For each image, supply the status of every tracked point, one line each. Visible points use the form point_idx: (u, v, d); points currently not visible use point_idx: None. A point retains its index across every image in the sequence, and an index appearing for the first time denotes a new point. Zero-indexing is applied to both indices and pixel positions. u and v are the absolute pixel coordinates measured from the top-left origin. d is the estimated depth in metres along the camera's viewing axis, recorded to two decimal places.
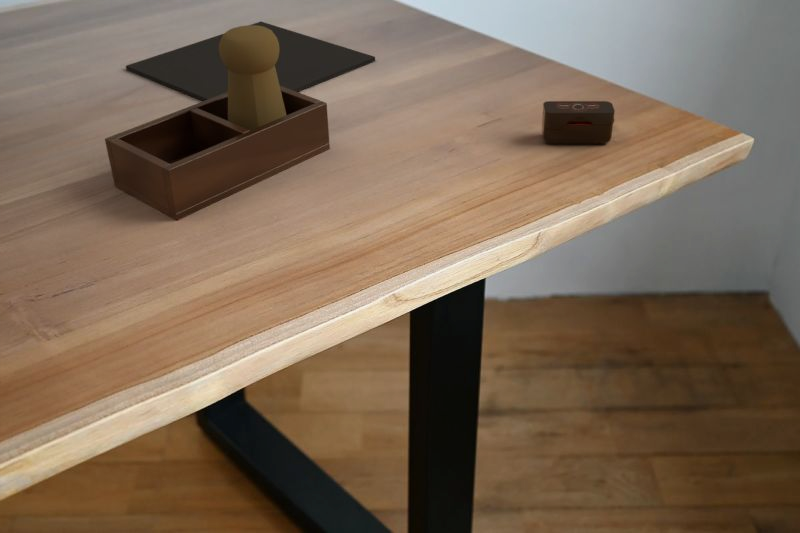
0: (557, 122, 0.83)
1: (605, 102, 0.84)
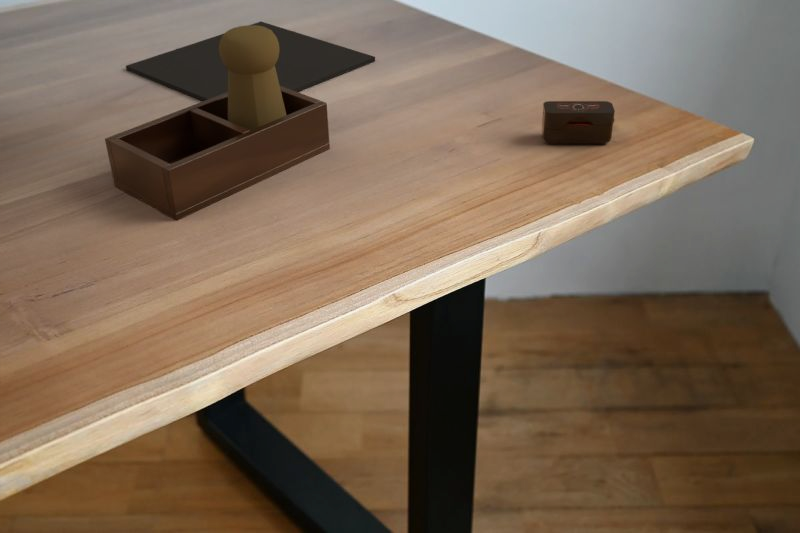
0: (557, 122, 0.83)
1: (605, 102, 0.84)
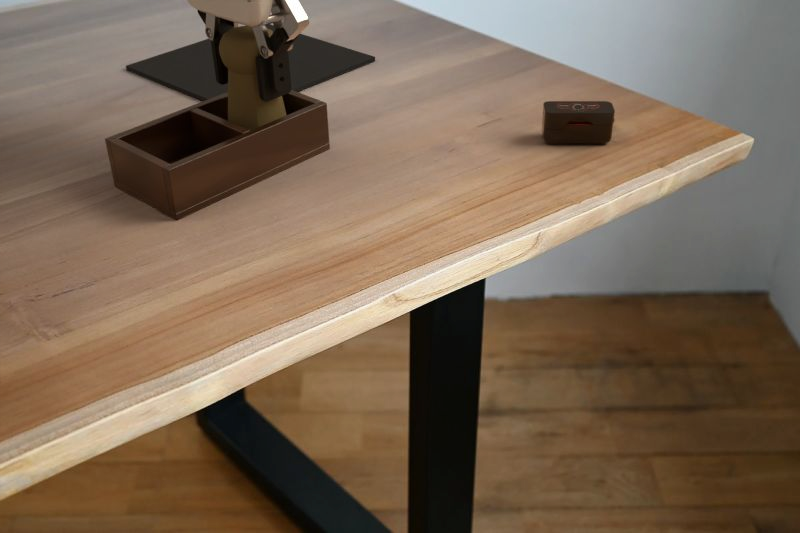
0: (557, 122, 0.83)
1: (605, 102, 0.84)
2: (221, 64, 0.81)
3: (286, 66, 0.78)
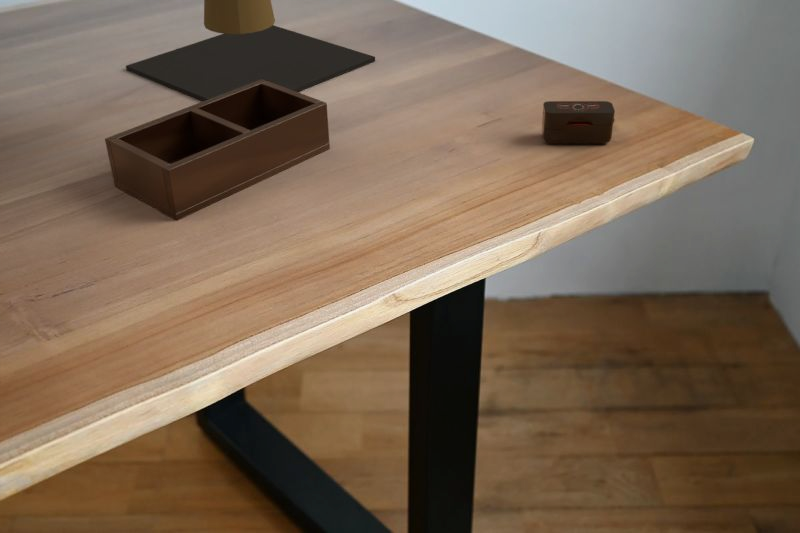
0: (557, 122, 0.83)
1: (605, 102, 0.84)
2: None
3: None
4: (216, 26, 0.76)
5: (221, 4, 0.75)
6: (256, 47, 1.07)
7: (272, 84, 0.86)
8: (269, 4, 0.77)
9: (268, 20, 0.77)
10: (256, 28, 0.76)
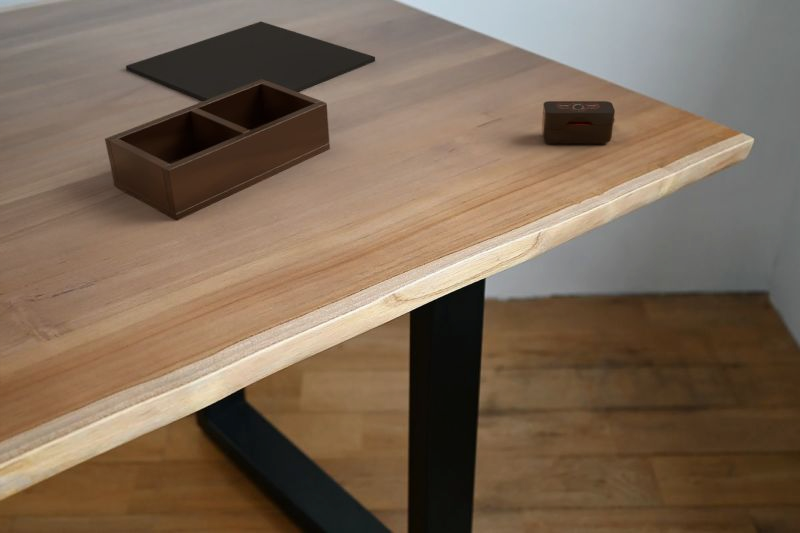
0: (557, 122, 0.83)
1: (605, 102, 0.84)
2: None
3: None
4: None
5: None
6: (256, 47, 1.07)
7: (272, 84, 0.86)
8: None
9: None
10: None
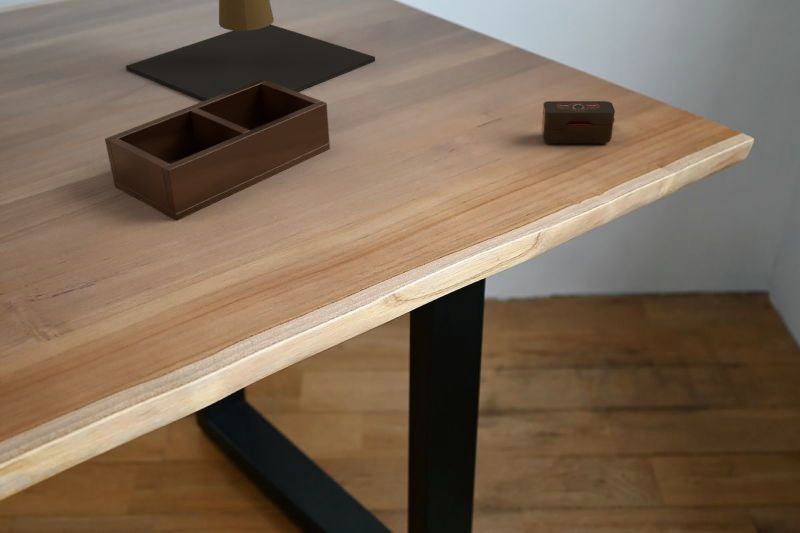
0: (557, 122, 0.83)
1: (605, 102, 0.84)
2: None
3: None
4: (229, 25, 0.98)
5: (232, 8, 0.97)
6: (256, 47, 1.07)
7: (272, 84, 0.86)
8: (269, 7, 0.99)
9: (268, 19, 0.99)
10: (259, 26, 0.99)
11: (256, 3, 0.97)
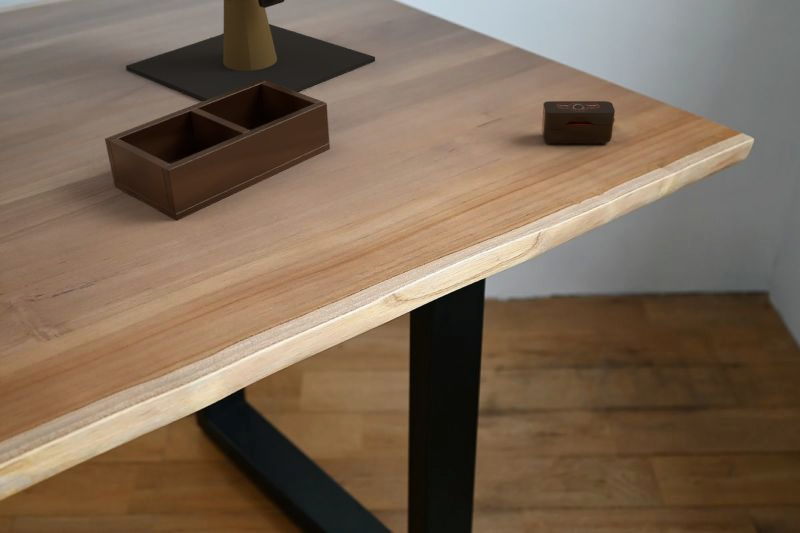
0: (557, 122, 0.83)
1: (605, 102, 0.84)
2: None
3: None
4: (233, 65, 1.01)
5: (237, 49, 1.00)
6: None
7: (272, 84, 0.86)
8: (272, 47, 1.02)
9: (272, 59, 1.02)
10: (263, 66, 1.01)
11: (259, 44, 1.00)
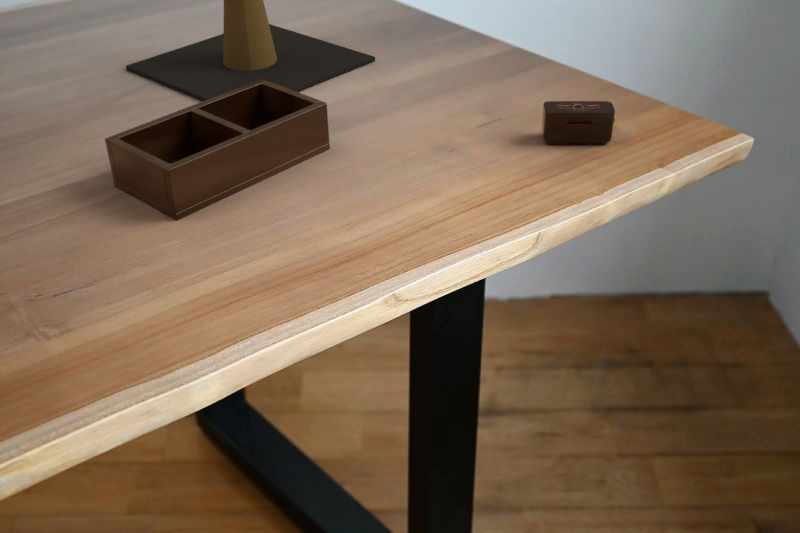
0: (557, 122, 0.83)
1: (605, 102, 0.84)
2: None
3: None
4: (233, 65, 1.01)
5: (237, 49, 1.00)
6: None
7: (272, 84, 0.86)
8: (272, 47, 1.02)
9: (272, 59, 1.02)
10: (263, 66, 1.01)
11: (259, 44, 1.00)
